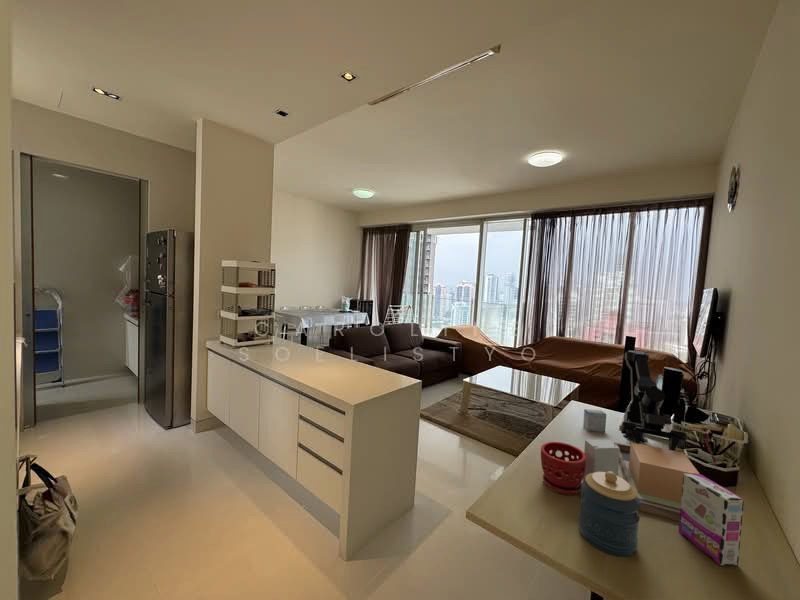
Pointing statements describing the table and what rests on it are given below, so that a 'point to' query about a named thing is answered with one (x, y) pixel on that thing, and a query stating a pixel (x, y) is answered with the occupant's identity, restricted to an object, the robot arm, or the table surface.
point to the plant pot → (563, 467)
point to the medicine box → (594, 420)
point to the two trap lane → (648, 502)
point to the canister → (609, 513)
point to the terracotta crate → (659, 471)
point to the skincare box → (601, 457)
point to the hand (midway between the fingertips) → (655, 455)
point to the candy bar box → (711, 518)
